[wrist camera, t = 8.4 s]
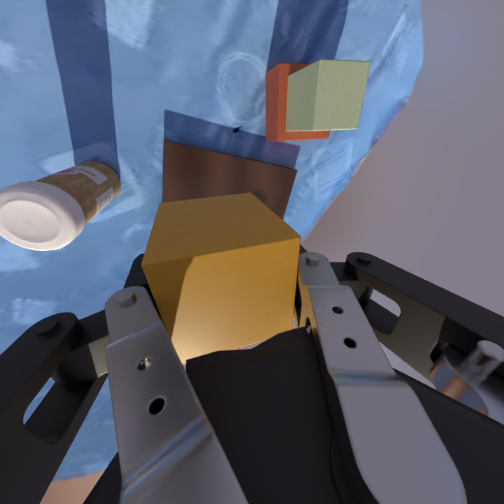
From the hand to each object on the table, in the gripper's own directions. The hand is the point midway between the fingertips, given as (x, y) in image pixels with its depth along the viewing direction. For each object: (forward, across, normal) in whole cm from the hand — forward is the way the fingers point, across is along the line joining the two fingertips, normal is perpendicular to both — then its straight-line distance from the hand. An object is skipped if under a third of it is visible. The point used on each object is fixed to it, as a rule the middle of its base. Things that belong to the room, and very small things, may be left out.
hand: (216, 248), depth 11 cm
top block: (+1, 0, 0) cm, 1 cm away
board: (+19, -4, +4) cm, 20 cm away
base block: (+19, -13, -8) cm, 25 cm away
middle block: (+15, -13, -8) cm, 22 cm away
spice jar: (+20, +11, -1) cm, 23 cm away
